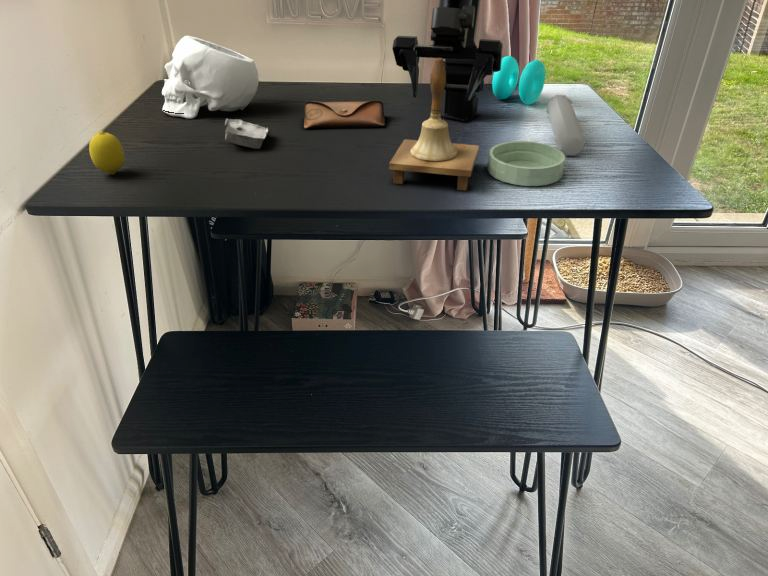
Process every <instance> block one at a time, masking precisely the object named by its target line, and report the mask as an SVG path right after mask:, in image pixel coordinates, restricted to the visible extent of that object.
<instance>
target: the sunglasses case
mask: <svg viewBox="0 0 768 576" xmlns="http://www.w3.org/2000/svg"><path fill="white" fill-rule="evenodd" d="M303 121H304V122H303V129H317V128H319V129H321V128H323V129H324V128H327V129H329V128H330V129H335V128H336V129H338V128H339V129H340V128H341V129H342V128H343V129H344V128H346V129H347V128H348V129H358V128H359V129H361V128H375V127H384V126H386V123H385V122H386V120H385V113H384V103H383V102H382V101H380V100H368V101H328V102H327V101H326V102H325V101H307V102H306V103H305V104H304V120H303Z"/></svg>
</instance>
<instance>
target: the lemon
mask: <svg viewBox="0 0 768 576" xmlns="http://www.w3.org/2000/svg"><path fill="white" fill-rule="evenodd" d="M88 152H89V156H90V159H91V161H92V163H93V165H94V167H96V168H97V169H98V170H99V171H102V172H105V173H108V174H110V175H115V174H116V172H117V171H120V169H121V168H122V167H123V165H124V163H125V150H124V148H123V146H122V144H121V141H119V139H118V138H117V137H116V136H115V135H114V134H112V133H109V132H105V131H103V130H100V131H98V132H97V133H96V134H94V135H93V136H92V137H91V139H90V141H89V145H88Z"/></svg>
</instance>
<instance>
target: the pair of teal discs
mask: <svg viewBox="0 0 768 576" xmlns="http://www.w3.org/2000/svg"><path fill="white" fill-rule="evenodd" d="M545 82H546V66H545V64H544V63H543V62H542V61H541V60H539V59H534V60H531V61H530V62H528V63H527V64H526V65H525V67H524V68H523V70H522V72H521V74H520V66H519V63H518V61H517V59H516V58H515V57H514V56H511V55H506V56H504V57H502V62H501V70H500V71H498V72H493V74H492V81H491V83H492V85H491V87H492V93H493V95H494V96H495V98H496V99H498V100H506V99H508V98H510V97H511V96H512V94H513V93H514V91H515V90H516V88H517V86H518V96H519V99H520V100H521V102H522V103H523V104H525V105H533V104H534V103H536V102H537V101H538V100H539V98H540V96H541V95H542V92H543V90H544V87H545Z"/></svg>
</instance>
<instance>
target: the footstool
mask: <svg viewBox="0 0 768 576" xmlns="http://www.w3.org/2000/svg"><path fill="white" fill-rule="evenodd" d="M418 140H419V139H418ZM418 140H417V139H403V141H402V142H401V143H400V145H399V147H398V149H397V150H396V152H395V154H394V155H393V156H392V158H391V159H390V161H389V164H388V165H389V166H388V170H391V171H393V177H392V178H393V182H392V183H393V184H394V185H403V184H404V182H405V172H413V173H423V174H434V175H444V176H455V177H457V183H456V185H457V186H456V190H457V191H467V190H468V187H469V185H468V184H469V178H472V174H473V172H474V168H475V164H476V161H477V158H478V156H479V153H480V145H477V144H468V143H467V144H465V143H453V142H451V143H452V145H453V146H454V147H455V148H456V150H457V155H456V156H455V157H454V158H452V159H449V160H444V161H427V160H421V159H418V158H416V157H414V156H412V155H411V153H410V151H411V149H412V147H413V146H414V145H415V144H416V143H417V142H418Z"/></svg>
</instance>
